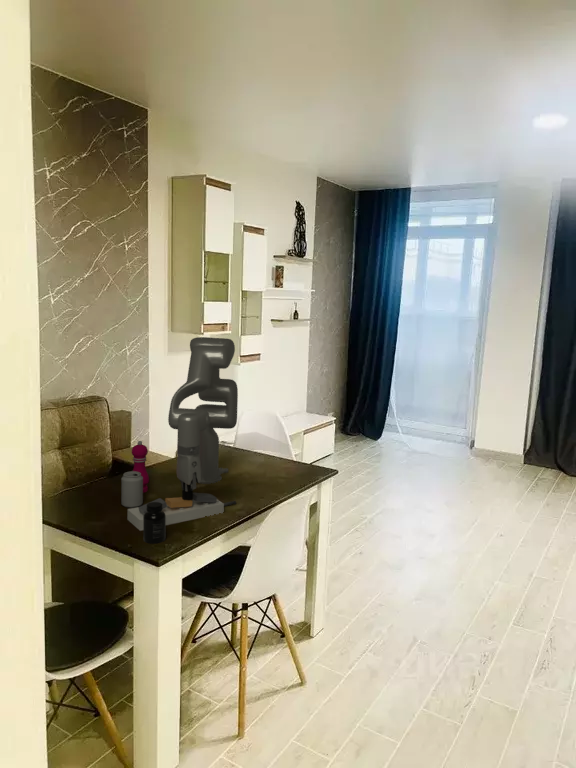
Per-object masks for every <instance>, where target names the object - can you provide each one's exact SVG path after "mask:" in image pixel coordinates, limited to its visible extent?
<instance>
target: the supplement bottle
mask: <svg viewBox="0 0 576 768" xmlns="http://www.w3.org/2000/svg"><path fill="white" fill-rule="evenodd" d="M150 502H151V503H149V502H147V503H148V504H147V503H146V504H147V509H146V511H147V512H146V513H145V514H144V516H143V530H142V531H143V533H142V534H143V535H142V537H143V542H145V544H149V545H155V544H156V545H157V544H161V543H163V542H165V541H166V539H167V538H166V536H167V533H166V529H167V528H166V526H167V525H166V515H165V513H164V512H163V511H162V510H163V508H162V503H160V502H152V501H150Z"/></svg>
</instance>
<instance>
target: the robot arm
mask: <svg viewBox="0 0 576 768" xmlns="http://www.w3.org/2000/svg"><path fill="white" fill-rule="evenodd" d="M189 349H190V357H189V364H188V371H187V376H186V377H187V378H186V381H185V383H184V384H182V385H181V386H180V387H179V388H178V389H177V390H176V391H175V392H174V394H173V396H172V398H171V401H170V404H169V411H168V418H167V420H168V421H167V422H168V425H169V427H170V428H171V429H173V430H177V439H176V440H177V441H176V442H177V443H176V445H177V447H176V452H177V453H176V454H177V459H176V477H177V479H178V480H179V481H180V483H181V490H182V491H181V497H182V499H184V500H193V493H194V490H195V489H197V484H205V485H210V484H211V483H212V484H216V482H217V483H219V482H221V481H222V479H223V478H222V474H227V473H229V468H228V467H226V468H225V467H224V468H223V467H219V450H220V449H219V448H220V446H219V445H220V438H219V435H218V433H217V432H216V430H215V429H225V430H227V429H228V430H230V429H234V428H235V427H236V425H237V422H238V401H239V400H238V399H239V398H238V397H239V395H238V394H239V393H238V384H237V381H235V379H234V380H233V379H230V378H221V377H220V370H222V369H223V370H225V369H227V368H229V366H230V365H231V363H232V360H233V358H234V357H235V351H236V346H235V342H234V341H233V340H232V339H231V338H226V337H225V338H224V337H223V338H220V337H207V336H203V337H202V336H201V337H200V336H198V337H194V338H191V340H190V342H189ZM196 394H198V395H197V396H198V398H199V399H200V401H203V402H211V403H224V404H210V403H205V404H199V405H197V406H195V408H183V407H182V408H181V407H180V405H181V403H182V402H183V401H184V400H186V399H187V398H189V397H191V396H193V395H196ZM220 480H221V481H220ZM218 481H219V482H218ZM212 484H211V485H212Z"/></svg>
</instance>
